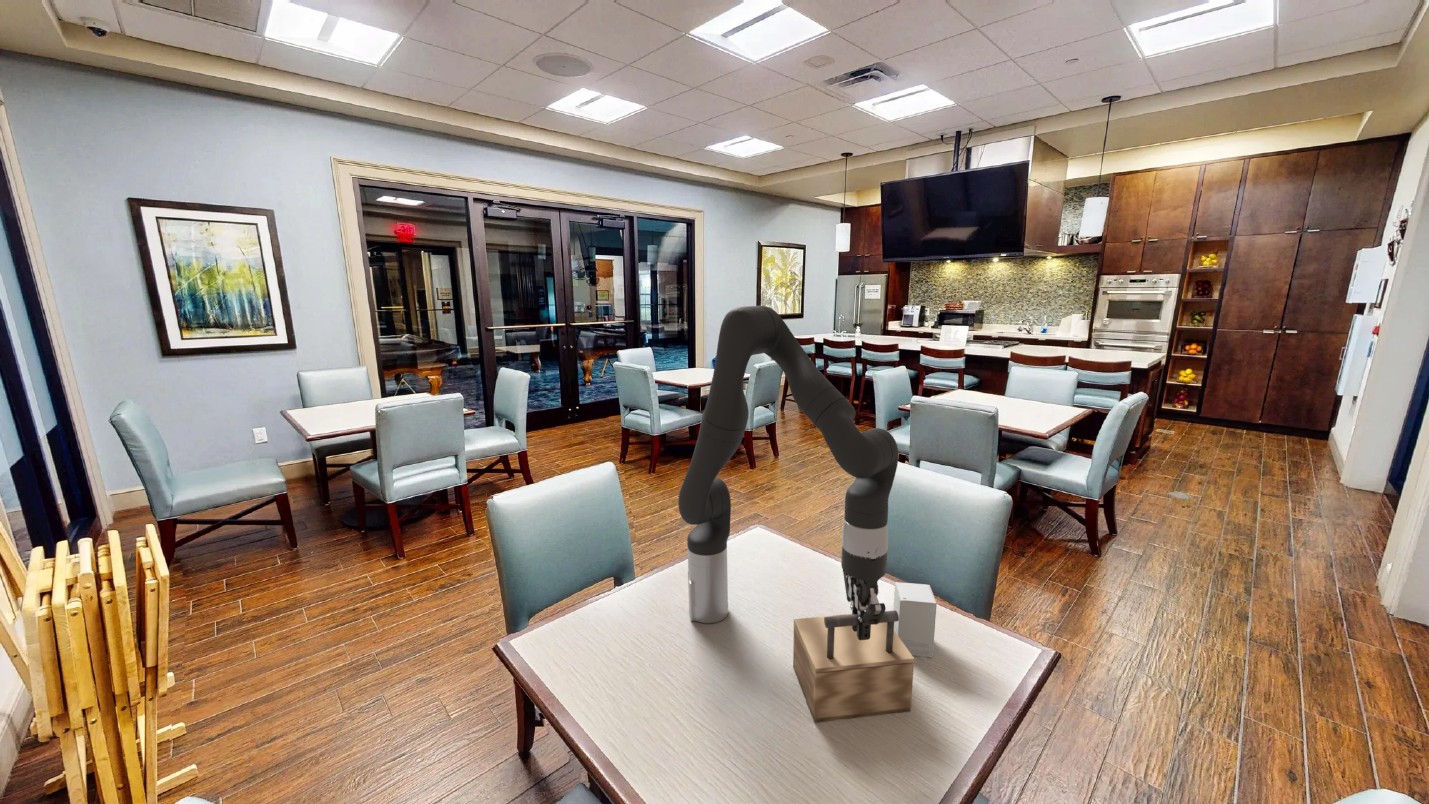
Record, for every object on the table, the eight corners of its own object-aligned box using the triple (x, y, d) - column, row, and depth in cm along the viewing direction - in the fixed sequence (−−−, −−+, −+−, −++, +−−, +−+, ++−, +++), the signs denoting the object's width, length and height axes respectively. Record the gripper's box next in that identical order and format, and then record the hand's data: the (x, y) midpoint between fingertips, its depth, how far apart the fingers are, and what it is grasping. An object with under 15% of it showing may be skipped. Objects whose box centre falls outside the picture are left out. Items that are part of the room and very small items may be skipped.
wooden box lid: (815, 672, 89) (816, 628, 88) (793, 622, 103) (794, 583, 101) (913, 662, 91) (916, 618, 90) (879, 614, 105) (881, 575, 103)
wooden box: (814, 722, 92) (815, 673, 89) (793, 667, 105) (793, 623, 103) (910, 711, 94) (913, 663, 91) (877, 658, 107) (879, 615, 105)
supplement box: (933, 658, 107) (937, 603, 104) (896, 654, 108) (899, 600, 106) (926, 635, 114) (930, 584, 111) (891, 632, 115) (894, 580, 113)
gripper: (829, 528, 94) (827, 613, 98) (859, 567, 81) (855, 663, 85) (869, 525, 95) (865, 609, 99) (904, 563, 82) (898, 658, 86)
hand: (860, 634), depth 92 cm, fingers closed on wooden box lid, 2 cm apart
